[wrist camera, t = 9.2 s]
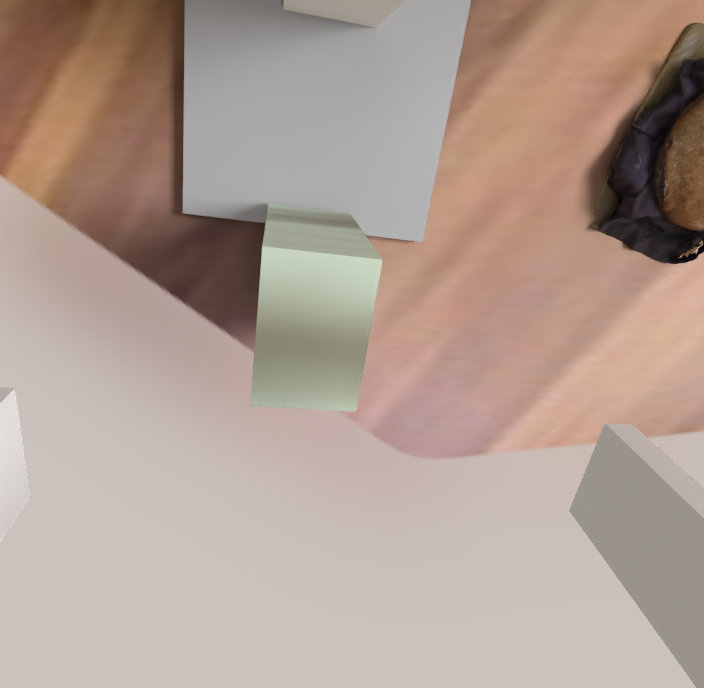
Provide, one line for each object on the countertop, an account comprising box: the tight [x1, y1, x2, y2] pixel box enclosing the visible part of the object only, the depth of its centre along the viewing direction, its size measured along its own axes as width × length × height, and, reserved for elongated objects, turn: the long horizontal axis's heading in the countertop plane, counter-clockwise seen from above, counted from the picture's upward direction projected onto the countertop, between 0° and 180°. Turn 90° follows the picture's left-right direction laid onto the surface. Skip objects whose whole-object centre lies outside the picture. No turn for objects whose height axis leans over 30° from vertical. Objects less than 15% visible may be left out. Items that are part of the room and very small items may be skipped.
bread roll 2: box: [593, 23, 704, 264], centre depth 25 cm, size 11×8×4 cm
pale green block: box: [251, 203, 382, 412], centre depth 22 cm, size 6×4×9 cm, turn 172°
